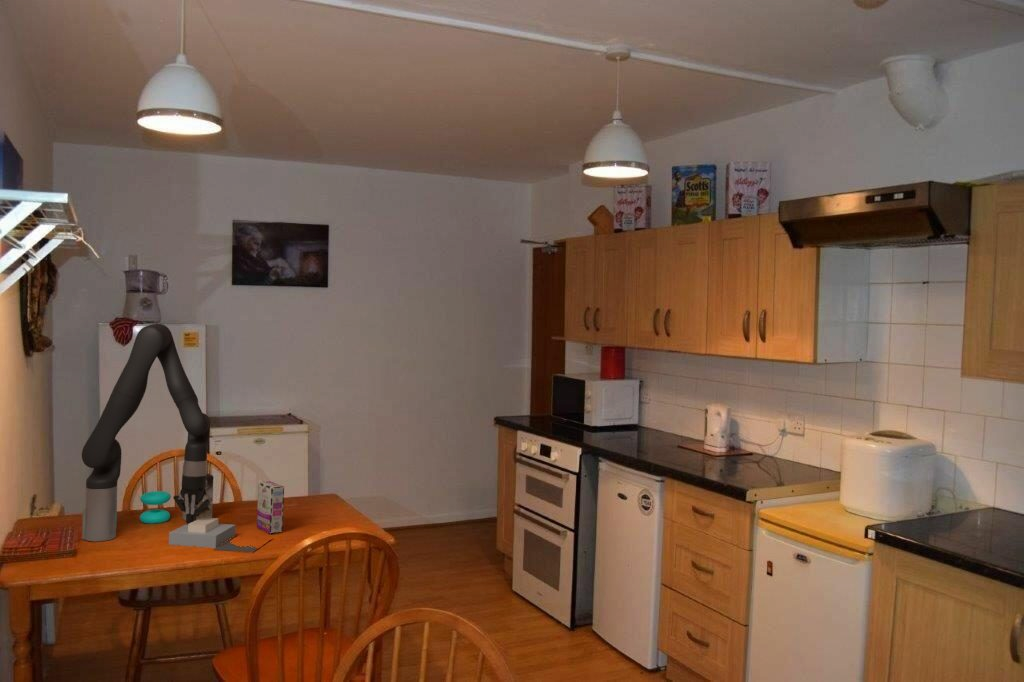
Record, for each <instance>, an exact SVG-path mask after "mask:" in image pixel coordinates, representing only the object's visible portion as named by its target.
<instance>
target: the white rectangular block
mask: <svg viewBox="0 0 1024 682" xmlns="http://www.w3.org/2000/svg"><path fill="white" fill-rule="evenodd" d="M218 524H219V518H217V517H216V518H215V517H212V518H204V517H201V518H199V519H197V520H195V521H193V522H191V523H189V524H188V532H200V533H206V532H208V531H210V530H211V529H213V528H215V527H217V526H218Z"/></svg>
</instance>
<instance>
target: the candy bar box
mask: <svg viewBox="0 0 1024 682" xmlns="http://www.w3.org/2000/svg"><path fill="white" fill-rule="evenodd" d="M284 499H285V486H284V485H281V484H279V483H275V482H273V481H270V480H269V481H262V482H258V483H257V509H256V510H257V513H256V516H257V517H256V528H257V527H258V528H260V529H262V530H264V531H266V532H265V533H267V532H268V533H267V534H269V533H270V534H269V535H272V534H271V533H277V532H282V531H283V529H284V526H283V525H284V502H285V500H284ZM258 528H257V529H258ZM260 529H259V530H260ZM262 530H261V531H262ZM264 531H263V532H264ZM282 533H283V532H282ZM277 534H278V533H277Z"/></svg>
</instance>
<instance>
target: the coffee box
mask: <svg viewBox="0 0 1024 682" xmlns="http://www.w3.org/2000/svg"><path fill="white" fill-rule="evenodd" d="M205 491H206V496H207V497H209V498H212V501H211V502H210V503H209V504H208V505H207V506H206V507H205V509H204V510H203V511H202V512H199V513H197V514H196V520H197V519H199V518H201V517H204V518H213V503H214V501H213V500H214V499H213V498H214V475H213V474H210V473H207V474H206V487H205ZM183 500H184V499H183ZM184 502H185V501H184ZM202 503H203V499H202V500H201V501H200V503H199V506H198V508H199V507H200V505H201V504H202ZM182 519H183V520H184V521H185V522H186V512H184V511H182Z"/></svg>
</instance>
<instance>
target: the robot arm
mask: <svg viewBox="0 0 1024 682" xmlns="http://www.w3.org/2000/svg"><path fill="white" fill-rule="evenodd" d="M177 350H178V349H177V347H176V342H175V340H174V337H173V334H172V332H171V330H170V328H169V327H168V326H166V325H164V324H162V323H153V324H149V325H145V326H143V327H142V328H141V329H139V331H138V332H137V335H136V336H135V339H134V342H133V345H132V348H131V352H130V354H129V357H128V359H127V362H126V364H125V365H124V367H123V370H122V371H121V373H120V375H119V377H118V379H117V381H116V383H115V385H114V387H113V389H112V391H111V393H110V395H109V398H108V400H107V402H106V404H105V407H104V409H103V410H102V413H101V415H100V418H99V420H98V422H97V423H96V425H95V427H94V428H93V431H92V432H91V433H90V436H89V437H88V439H87V441H86V442H85V444H84V445H83V447H82V450H81V460H82V462H83V464H84V465H85V466H86V467H88V468H91V469H92V472H91V473H90V475H89V476H88V477H87V478H86V480H85V509H83V510H82V523H81V524H82V525H81V526H82V529H81V539H82V540H85V541H87V542H88V541H89V542H106V541H109V540H113V539H115V538H116V537H117V518H118V517H117V513H118V511H117V510H118V481H119V478H120V475H121V469H122V446H121V444H120V442H119V441H118V440H117V439H116V437H117V435H118V433H119V432H120V431H121V429H122V428H123V427H124V426H125V425H126V423H128V422H129V420H131V418H132V417H133V416H134V415H135V414H136V412H137V410H138V408H139V407H140V404H141V402H142V400H143V398H144V395H145V393H146V390H147V387H148V386H147V385H148V379H149V373H150V370H151V368H152V366H153V364H154V362H155V361H156V358H157V359H158V361H159V362H160V364H161V367H162V368H161V369H162V370H163V373H164V374H163V375H164V377H165V384H166V387H167V390H168V392H169V394H170V396H171V398H172V401H173V403H174V404H175V406H176V408H177V409H178V412H179V416H180V418H181V421H182V424H183V426H184V428H185V430H186V432H187V441H186V443H185V448H184V457H183V459H184V460H183V464H182V473H181V474H182V475H181V486H180V487H181V489H180V491H179V493H177V494H175V495H173V497H172V498H173V500H174V502H175V503H176V505H177V507H178V508H179V509H180V511H181V512H183V511H184V512H186V521H185V524H187V525H188V524H189V523H191V522H193V521H195V520H196V514H197V513H199V512H202V511H203V510H204V509H205V507H206V506H207V505H208V504H209V503H210V502H211V501H212V498H209V497H207V496H206V491H205V487H206V474H208V473H207V472H208V470H207V469H208V462H207V460H208V459H207V458H208V441H209V438H210V437H209V436H210V433H211V432H210V431H211V420H210V417H209V415H207V414H206V413H204V412H202V409H201V407H200V405H199V398H198V396H197V394H196V391H195V390H194V388H193V385H192V384H191V382H190V380H189V378H188V376H187V374H186V371H185V369H184V366H183V364H182V361H181V359H180V356H179V353H178V351H177ZM183 499H184V500H183ZM202 499H203V503H202V504H201V505H200V507H199V508H198V506H199V503H200V501H201V500H202ZM184 501H185V502H184Z"/></svg>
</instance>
